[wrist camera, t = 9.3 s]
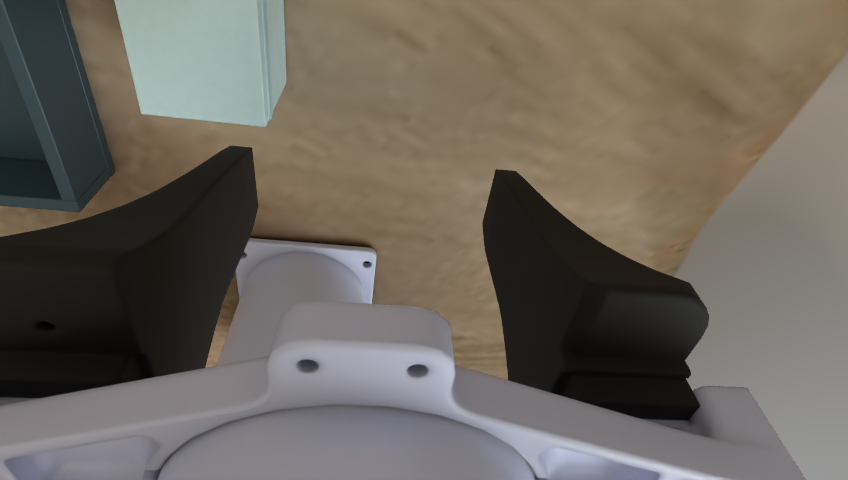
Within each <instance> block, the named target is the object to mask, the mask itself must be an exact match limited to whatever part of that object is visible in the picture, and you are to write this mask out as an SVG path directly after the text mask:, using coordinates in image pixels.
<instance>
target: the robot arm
mask: <svg viewBox="0 0 848 480" xmlns="http://www.w3.org/2000/svg"><path fill="white" fill-rule="evenodd" d="M257 209H258V200H257V190H256V181H255V171H254V162H253V152H252V148H250V147H239V146H229V147H227V148H225V149H224V150H222V151H220V152H219V153H217V154H216V155H214V156H213V157H211V158H210V159H208V160H207V161H205V162H204V163H202V164H201V165H199V166H198V167H196V168H194V169H193V170H191V171H190V172H188V173H187V174H185V175H183V176H181V177H180V178H178V179H176V180H174V181H173V182H171V183H169V184H167V185H166V186H164V187H162V188H160V189H158V190H156V191H155V192H153V193H150V194H148V195H146V196H144V197H142V198H140V199H137V200H135V201H133V202H131V203H128V204H126V205H123V206H120V207H117V208H115V209H112V210H109V211H106V212H103V213H100V214H98V215H95V216H92V217H88V218H85V219H81V220H78V221H74V222H71V223H67V224H63V225H59V226H55V227H50V228H46V229H41V230H36V231H31V232H25V233H20V234H15V235H9V236H3V237H0V480H806V479H805V477H804V476H803V474H802V472H801V471H800V470H799V468H798V466H797V465H796V463H795V462H794V460H793V458H792V457H791V455H790V454H789V452H788V451H787V449H786V447H785V446H784V445H783V443H782V441H781V440H780V438H779V437H778V435H777V433H776V432H775V430H774V429H773V427H772V426H771V424H770V422H769V421H768V419H767V418H766V416H765V415H764V413H763V412H762V410H761V408H760V407H759V406H758V404H757V402H756V401H755V399H754V397H753V396H752V394H751V393H750V391H749V390H748V389H747V388H743V387H722V386H721V387H720V386H703V387H700V388H697V389H694V390H693V391H692V389H691V388H690V386H689V384H688V382H687V380H686V378H689V376H690V375H691V371H690V369H689V367H688V366H687V364H686V362H685V359H686V358H687V357H688V355H689V354H690V353H691V351H692V350H693V348H694V347H695V346H696V344H697V343H698V342H699V340H700V339H701V338H702V336H703V334H704V332H705V330H706V328H707V326H708V321H709V314H708V312H707V308H706V307H705V305H704V304H703V302H702V301H701V299H700V297H699V296H698V294H697V293H696V291H695V290H694V288H693V287H692V285H691V284H690V283H688V282H685V281H683V280H680V279H677V278H675V277H672V276H669V275H667V274H664V273H661V272H658V271H656V270H653V269H651V268H649V267H647V266H644V265H642V264H640V263H638V262H636V261H634V260H631V259H629V258H627V257H625V256H623V255H622V254H620V253H618V252H616V251H614V250H613V249H611V248H609V247H607V246H605V245H604V244H602V243H601V242H599V241H597V240H596V239H594V238H593V237H591V236H590V235H588V234H587V233H585V232H584V231H583V230H581V229H580V228H578V227H577V226H576V225H574V224H573V223H572V222H571V221H569V220H568V219H567V218H566V217H565V216H563V215H562V214H561V213H560V212H559V211H557V210H556V209H555V208H554V207H553V206H552V205H551V204H550V203H549V202H547V201H546V200H545V199H544V198H543V197H542V196H541V195H540V194H539V193H538V192H537V191H536V190H535V189H534V188H533V187H532V186H531V185H530V184H529V183H528V182H527V181H526V180H525V179H524V178H523V177H522V176H521V175H519V174H518V173H517V172H516V171H509V170H497V169H496V171H495V175H494V179H493V183H492V187H491V191H490V195H489V199H488V203H487V207H486V211H485V215H484V219H483V235H484V245H485V252H486V256H487V260H488V264H489V268H490V272H491V276H492V280H493V284H494V288H495V292H496V296H497V300H498V303H499V308H500V313H501V318H502V326H503V334H504V341H505V350H506V360H507V369H508V380H505V379H502V378H498V377H495V376H491V375H488V374H485V373H481V372H478V371H474V370H471V369H467V368H464V367H461V366H457V365H454V357H453V347H452V338H451V331H450V325H449V322H448V321H446V320H445V319H444V318H443V317H442V316H441V315H440V314H438V313H437V312H436V311H432V310H428V309H424V308H420V307H416V306H404V305H386V304H372V296H373V286H374V276H375V266H376V251H375V250H374V249H372V248H368V247H356V246H343V245H331V244H318V243H306V242H293V241H281V240H268V239H256V238H250V235H251V233H252V229H253V225H254V221H255V217H256V213H257ZM243 252H245V253H246V254H243ZM365 261H369V262H370V263H364V262H365ZM235 271H236V278H237V286H238V293H239V303H238V306H237V309H236V312H235V314H234V317H233V320H232V323H231V326H230V329H229V332H228V334H227V337H226V340H225V343H224V346H223V349H222V352H221V354H220V357H219V360H218V363H217V366H213V367H208V368H205V366H206V362H207V358H208V354H209V350H210V346H211V342H212V339H213V335H214V331H215V327H216V324H217V320H218V317H219V313H220V310H221V306H222V303H223V300H224V297H225V295H226V292H227V289H228V287H229V285H230V282H231V280H232V278H233V275H234V273H235Z"/></svg>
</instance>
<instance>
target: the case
mask: <svg viewBox="0 0 848 480" xmlns="http://www.w3.org/2000/svg"><path fill="white" fill-rule="evenodd" d="M114 2H115V6H116V10H117V14H118V18H119V23H120V27H121V31H122V35H123V39H124V44H125V48H126V52H127V56H128V60H129V65H130V69H131V73H132V77H133V81H134V86H135V90H136V94H137V98H138V102H139V107H140V111H141V114H148V115H157V116H167V117H176V118H186V119H195V120H205V121H214V122H224V123H233V124H243V125H252V126H262V127H266V125H267V123H268V121H270V120H271V118H272V116H273V110H274V108H275V106H276V103H277V101H278V99H279V97H280V95H281V93H282V91H283V88H284V86H285V84H286V82H287V77H286V51H285V26H284V0H114Z"/></svg>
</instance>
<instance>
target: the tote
mask: <svg viewBox="0 0 848 480" xmlns="http://www.w3.org/2000/svg"><path fill="white" fill-rule="evenodd" d="M114 172H115V170H114V167H113V164H112V160H111V157H110V154H109V150H108V147H107V143H106V140H105V137H104V133H103V130H102V126H101V123H100V120H99V116H98V113H97V110H96V106H95V103H94V99H93V96H92V93H91V89H90V86H89V82H88V79H87V76H86V72H85V69H84V66H83V62H82V59H81V55H80V52H79V49H78V45H77V42H76V38H75V35H74V32H73V28H72V25H71V22H70V18H69V15H68V11H67V8H66V5H65V1H64V0H0V206H11V207H23V208H35V209H48V210H60V211H72V212H81V210H82V209H83V208H84V207H85V206H86V205H87V203H88V202H89V201H90V200H91V199H92V198H93V197H94V195H95V194H96V193H97V192H98V191H99V190H100V188H101V187H102V186H103V185H104V184H105V183H106V181H107V180H108V179H109V178H110V177H111V176H112V175H113V174H114Z"/></svg>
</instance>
